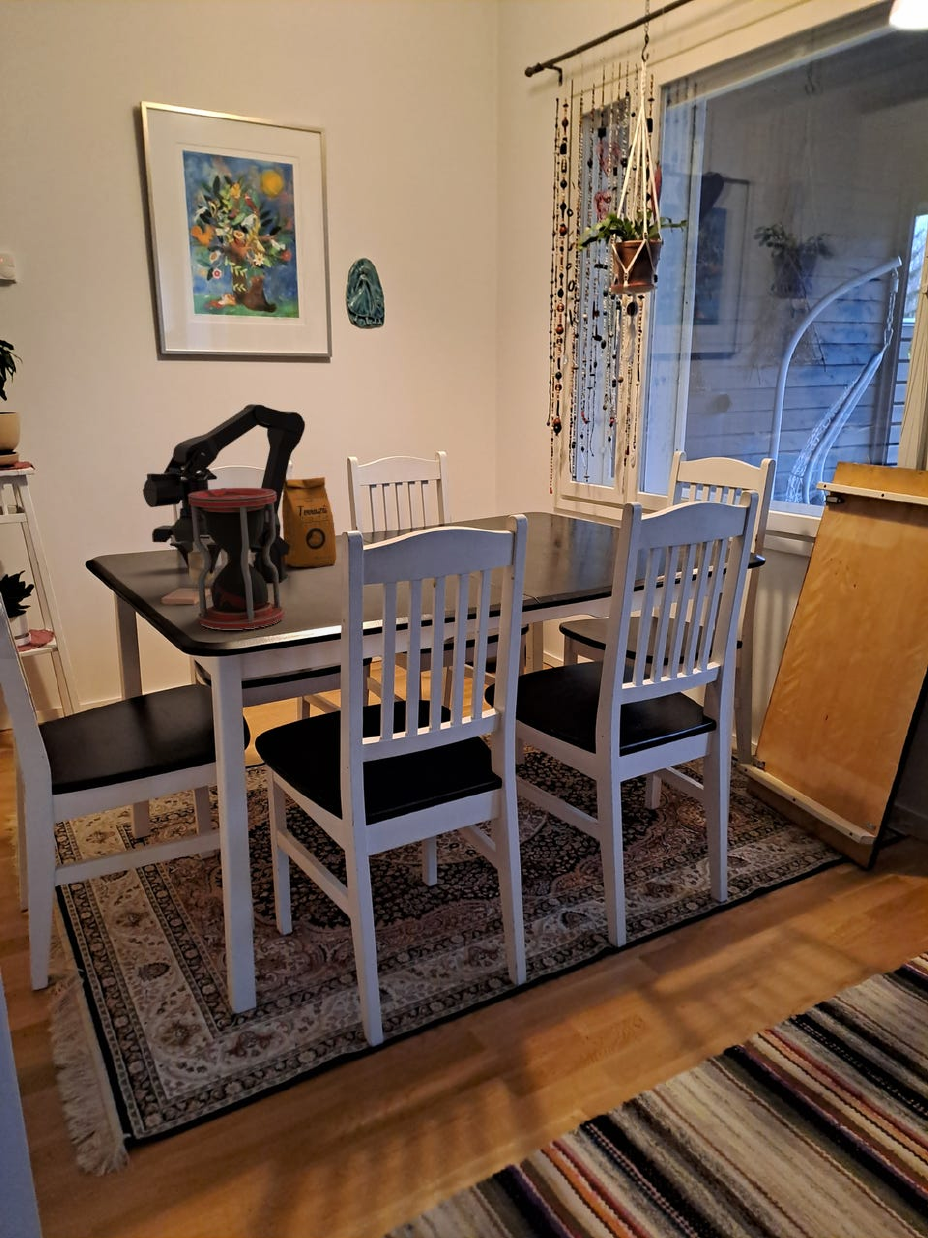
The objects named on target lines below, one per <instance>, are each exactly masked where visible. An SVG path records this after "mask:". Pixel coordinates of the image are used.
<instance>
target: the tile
mask: <svg viewBox="0 0 928 1238" xmlns="http://www.w3.org/2000/svg"><path fill="white" fill-rule="evenodd" d="M209 594H210V595H211V588H205V597H206V596H207V595H209ZM210 595H209V596H210ZM207 597H208V596H207ZM207 597H206V598H207ZM198 601H200V599H199V588H185V587H184V588H181V587H180V588H177V589H176V590H174V591H172V592H170V593H169V594H167V595H165V596H163V597H162V598H161V604H162V603H164V604H163V605H175V604H195V603H197V602H198ZM198 603H199V602H198ZM198 603H197V604H198ZM195 605H196V604H195Z"/></svg>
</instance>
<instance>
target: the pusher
mask: <svg viewBox="0 0 928 1238" xmlns="http://www.w3.org/2000/svg"><path fill="white" fill-rule="evenodd" d="M188 563H189V569H188V570H189V571H188V572H189V580H190V581H193V582H194V581H197V582H198V579H199V575H200V573H201V572H202V570H203V569H204V563H205V560H204V557H203V553H202V552H201V551H200V550H194V551H192V552H190V553H188ZM213 578H216V577H215V571H214V572H213V573H212V574H210V570H209V572H208V573H207V574H206V577H205V580H204V582H205V581H206V582H208V581H210V580H212V579H213Z"/></svg>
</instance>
